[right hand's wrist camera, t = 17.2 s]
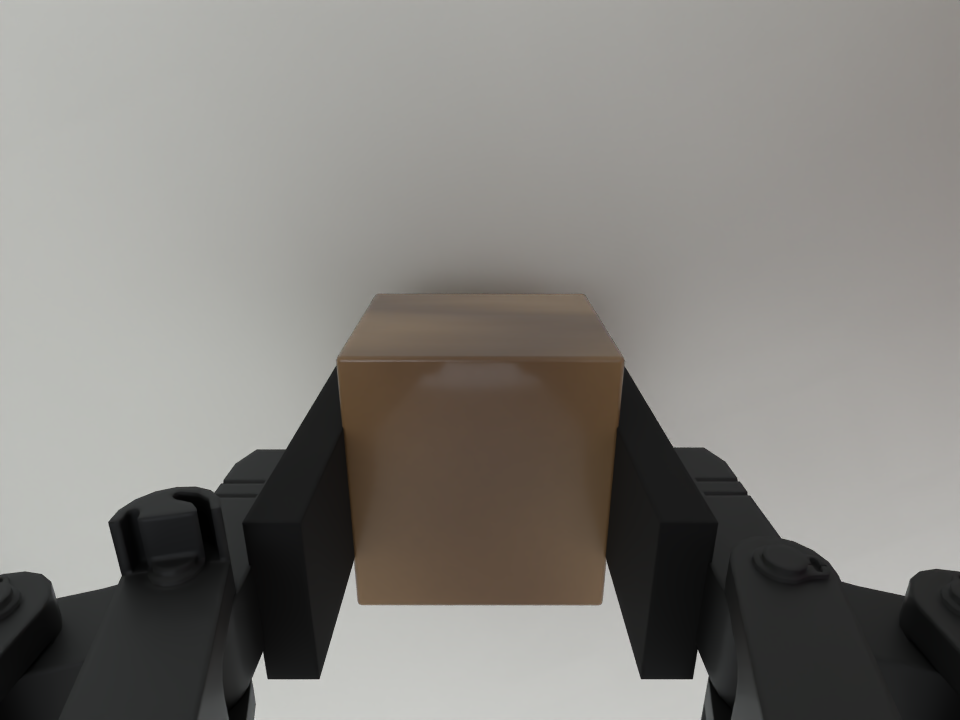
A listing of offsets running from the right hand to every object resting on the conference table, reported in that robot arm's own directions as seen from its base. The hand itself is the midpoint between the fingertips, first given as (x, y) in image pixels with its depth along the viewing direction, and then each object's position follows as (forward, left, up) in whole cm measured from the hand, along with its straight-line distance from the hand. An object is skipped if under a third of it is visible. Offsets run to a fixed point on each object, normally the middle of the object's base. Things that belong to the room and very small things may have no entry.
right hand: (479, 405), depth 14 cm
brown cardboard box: (0, 0, 0) cm, 0 cm away
